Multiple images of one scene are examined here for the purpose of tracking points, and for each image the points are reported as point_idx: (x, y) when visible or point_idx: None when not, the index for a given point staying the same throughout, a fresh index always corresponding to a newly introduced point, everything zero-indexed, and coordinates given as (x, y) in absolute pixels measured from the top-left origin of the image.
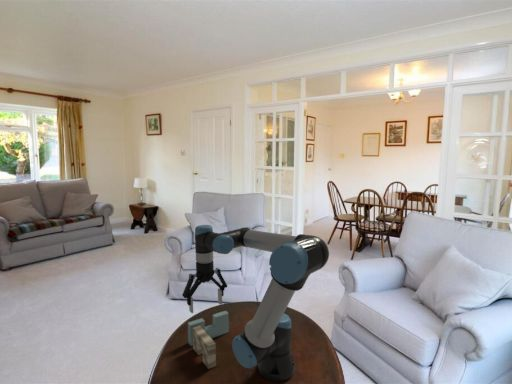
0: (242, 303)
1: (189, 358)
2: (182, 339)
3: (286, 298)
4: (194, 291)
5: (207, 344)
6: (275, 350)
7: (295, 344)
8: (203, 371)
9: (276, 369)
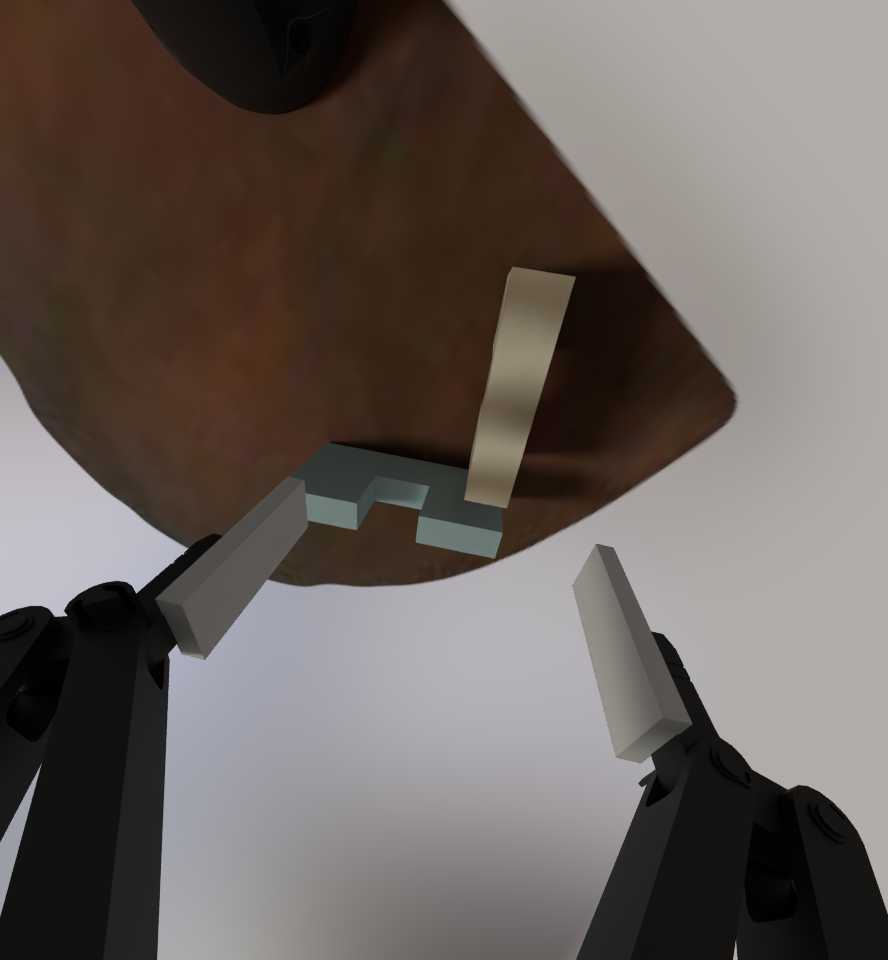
0: None
1: (554, 416)
2: None
3: None
4: (675, 872)
5: (561, 301)
6: None
7: (50, 87)
8: (574, 288)
9: None
